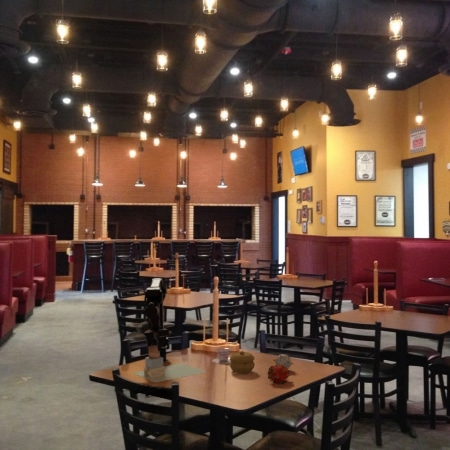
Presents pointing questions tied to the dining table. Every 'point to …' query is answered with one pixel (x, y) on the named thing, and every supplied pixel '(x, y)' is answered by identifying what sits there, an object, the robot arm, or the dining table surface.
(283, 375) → the dragon fruit
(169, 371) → the felt mat
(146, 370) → the tower base
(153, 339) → the robot arm
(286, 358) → the game die
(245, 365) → the pot
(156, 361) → the tower top
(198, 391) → the dining table surface
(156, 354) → the terracotta cylinder
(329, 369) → the dining table surface
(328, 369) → the dining table surface
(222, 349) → the teacup
